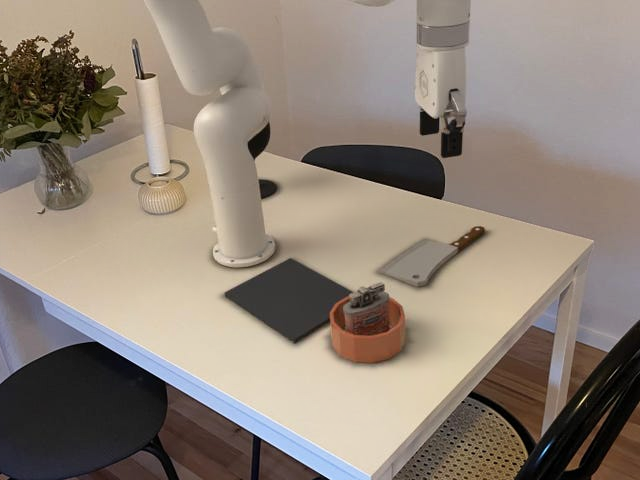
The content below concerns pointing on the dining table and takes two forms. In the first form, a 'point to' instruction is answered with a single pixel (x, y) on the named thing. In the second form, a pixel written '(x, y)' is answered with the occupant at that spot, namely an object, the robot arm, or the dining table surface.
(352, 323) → the lighter
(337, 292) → the mat
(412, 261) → the kitchen cleaver
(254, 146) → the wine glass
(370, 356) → the orange hollow ring
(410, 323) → the dining table surface
